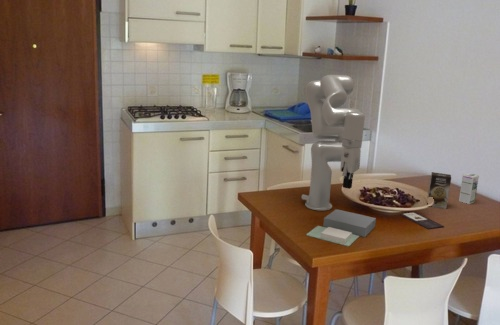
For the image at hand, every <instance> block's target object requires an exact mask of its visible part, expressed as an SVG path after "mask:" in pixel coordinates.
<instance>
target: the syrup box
mask: <svg viewBox="0 0 500 325" xmlns="http://www.w3.org/2000/svg"><path fill="white" fill-rule="evenodd" d="M461 177H462V178H461V184H460V191H459V199H458V202H459V203H462V202H463V204H466V203H467V204H466V205H471V204H473V203H475V202H476V195H477V189H478V184H479V183H478V182H479V178H480V176H479V175H478V174H475V173H469V172H468V173H465V174H462V176H461Z"/></svg>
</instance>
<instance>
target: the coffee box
mask: <svg viewBox="0 0 500 325" xmlns="http://www.w3.org/2000/svg"><path fill="white" fill-rule="evenodd" d="M451 181H452V175H451V174H448V173H447V174H446V173H440V172H434V171H433V172H432V171H431V175H430V182H429V186H428V187H429V188H428V191H427V192H428V193H427V198H428V197H433V199H434V204H433V205H432V208H439V209H444V210H446V209H447V205H448V201H449V200H448V199H449V195H450V189H451Z"/></svg>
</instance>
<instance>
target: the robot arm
mask: <svg viewBox="0 0 500 325" xmlns="http://www.w3.org/2000/svg"><path fill="white" fill-rule="evenodd" d="M353 90H354V80H353V78H352V77H351V76H349V75H348V74H347V75H346V74H327V75H324V76H323V77H322V78H321V79H320V80H319V79H318V80H312V81H310V82H308V83H307V84H306V87H305V99H306V104H308V108H309V111H310V120H311V121H310V122H311V131H312V135H313V137H314V138H315V139H317V140H318V141H315V142H314V143H312V145H311V148H310V156H311V169H310V170H311V171H310V182H309V183H310V184H309V193H308V195H307V194H301V200H303V201H305V203H304V206H305V207H306V208H307V209H310V210H313V211H320V212H321V211H330V210H331V209H332V208H333V205H332V203H331V202H330V197H331V186H332V177H333V176H332V175H333V174H332V173H333V171H332V169H331V167H330V165H329V163H331V162H333V163H335V162H336V163H340V172H342V176H343V177H342V179H343V182H342V188H344V189H349V190H350V189H351V188H352V187H353V178H354V173H355V172H357V171H358V170H359V169H360V166H361V152H362V151H361V149H362V146H363V136H364V127H365V119H366V118H365V116H366V115H365V113H363V112H361V111H360V110H359V109H358V108H351V107H348V108H347V107H342V106H343V105H344V104H345V103H346V102H347V99H348V96H349V95H350V94H352V93H353ZM322 99H323V100H324V101H323V100H322Z"/></svg>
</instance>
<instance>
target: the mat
mask: <svg viewBox="0 0 500 325" xmlns="http://www.w3.org/2000/svg"><path fill="white" fill-rule="evenodd" d="M325 229H326V227H323V226H322V225H321V226H320V225H317V226H315V227H314V228H313V229H311V230H310V231H309V232H307V233H306V234H305V236H307V237H310V238H314V239H315V238H316V239H318V240H322V241H326V242H329V243H333V244H338V245H341V246H345V247H348V248H349V247H350V246H351V245H352V244H353V243H354V242H356V240H358V239H359V237H360V236H357V235H353V234H352V237H351V238H350V239H349V240H348V241H347V242H346V243H345V244H344V243H340V242H336V241H332V240H328V239H324V238H321V233H322V232H323V231H324V230H325Z"/></svg>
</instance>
